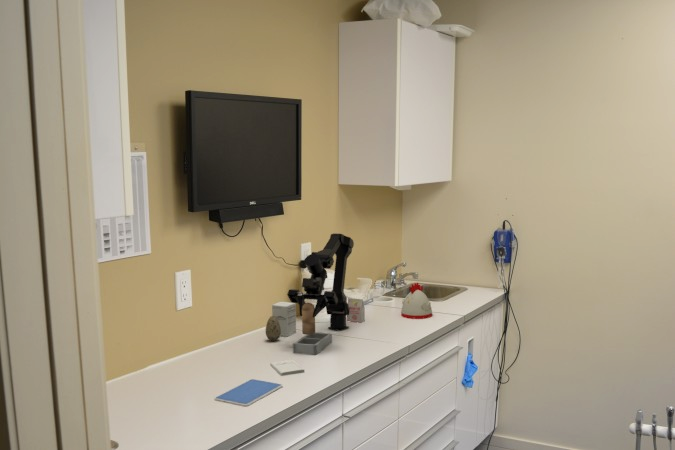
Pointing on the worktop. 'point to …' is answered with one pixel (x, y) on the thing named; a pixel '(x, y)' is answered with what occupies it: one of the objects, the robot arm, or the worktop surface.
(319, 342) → the grey divided tray
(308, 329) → the dome-topped wooden peg
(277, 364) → the external hard drive
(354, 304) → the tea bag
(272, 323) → the decorative egg
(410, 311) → the grey beanie hat
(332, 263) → the robot arm
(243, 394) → the tablet computer
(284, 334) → the supplement box
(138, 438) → the worktop surface
